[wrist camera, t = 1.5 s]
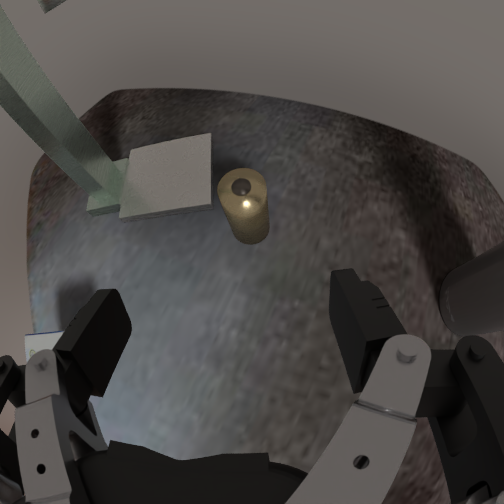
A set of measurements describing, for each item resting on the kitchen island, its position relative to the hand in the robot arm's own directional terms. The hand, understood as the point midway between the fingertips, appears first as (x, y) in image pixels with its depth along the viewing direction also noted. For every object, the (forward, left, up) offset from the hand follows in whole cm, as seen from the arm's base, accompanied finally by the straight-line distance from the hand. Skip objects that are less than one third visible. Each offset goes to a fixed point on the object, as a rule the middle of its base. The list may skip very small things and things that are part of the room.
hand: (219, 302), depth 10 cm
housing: (0, -12, -21) cm, 24 cm away
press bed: (+19, -21, -21) cm, 36 cm away
